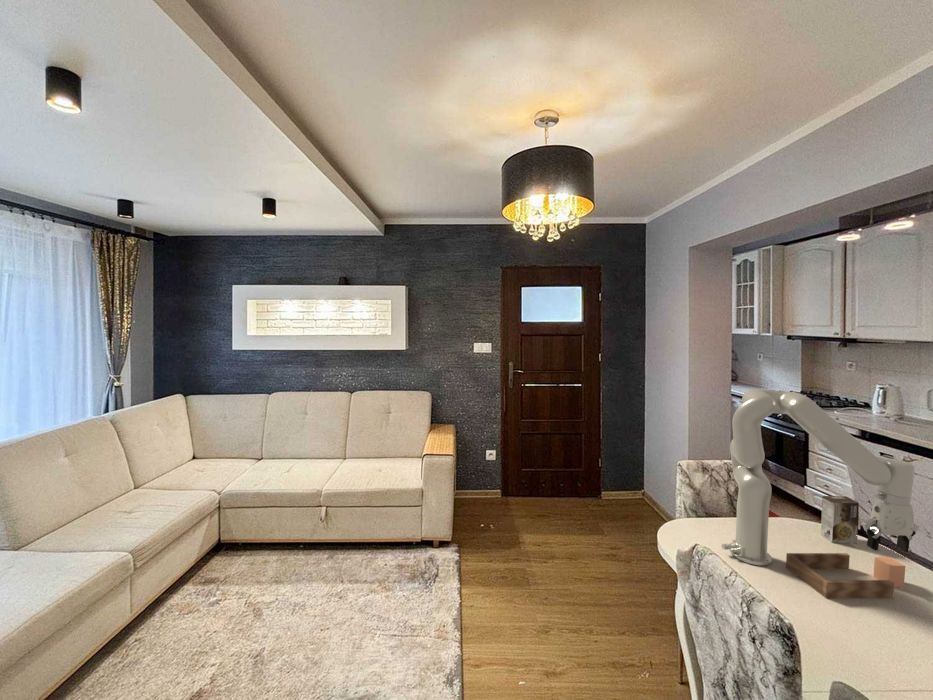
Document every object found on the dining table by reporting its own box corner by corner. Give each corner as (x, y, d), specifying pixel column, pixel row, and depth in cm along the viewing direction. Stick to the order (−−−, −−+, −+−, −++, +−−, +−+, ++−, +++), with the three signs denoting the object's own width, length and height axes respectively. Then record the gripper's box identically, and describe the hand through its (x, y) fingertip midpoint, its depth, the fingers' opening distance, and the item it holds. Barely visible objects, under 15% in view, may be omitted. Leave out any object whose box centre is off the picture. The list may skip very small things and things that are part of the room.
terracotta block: (888, 586, 135) (889, 565, 135) (873, 577, 140) (874, 557, 140) (903, 586, 135) (905, 565, 135) (888, 577, 140) (889, 557, 140)
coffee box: (844, 535, 168) (846, 496, 166) (857, 544, 161) (860, 503, 160) (819, 534, 168) (821, 495, 167) (831, 543, 162) (834, 502, 161)
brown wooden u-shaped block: (825, 598, 130) (826, 582, 130) (785, 567, 146) (786, 553, 146) (893, 598, 130) (894, 582, 129) (845, 567, 146) (846, 553, 146)
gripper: (877, 502, 132) (871, 554, 134) (933, 504, 132) (926, 556, 134) (856, 492, 140) (850, 541, 141) (908, 494, 140) (902, 543, 141)
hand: (887, 548), depth 138 cm, fingers open, 9 cm apart
